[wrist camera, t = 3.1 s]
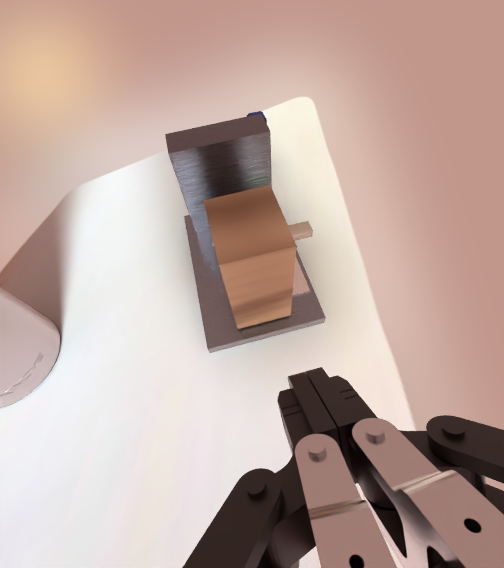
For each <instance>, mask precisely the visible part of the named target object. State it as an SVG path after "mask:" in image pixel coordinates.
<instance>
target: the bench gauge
mask: <svg viewBox="0 0 504 568" xmlns="http://www.w3.org/2000/svg"><path fill="white" fill-rule="evenodd" d="M165 135H166V142H167V148H168V154H169V157H170V159H171V162H172V165H173V168H174V171H175V174H176V177H177V179H178V182H179V185H180V188H181V191H182V194H183V196H184V199H185V202H186V205H187V208H188V211H189V214H190V215H188V216H184V217H185V223H186V229H187V234H188V240H189V246H190V251H191V257H192V263H193V268H194V274H195V280H196V285H197V291H198V297H199V302H200V308H201V314H202V319H203V325H204V331H205V336H206V342H207V348H208V350H209V352H210V353H212V352H215V351H219V350H223V349H227V348H230V347H234V346H238V345H241V344H245V343H249V342H253V341H256V340H260V339H264V338H268V337H271V336H275V335H279V334H283V333H286V332H290V331H294V330H298V329H301V328H305V327H309V326H312V325H316V324H320V323H324V321H325V315H324V313H323V311H322V308H321V306H320V304H319V301H318V299H317V297H316V294H315V292H314V290H313V287H312V285H311V283H310V280H309V278H308V276H307V273H306V271H305V269H304V266H303V264H302V262H301V259H300V257H299V255H298V252H297V250H296V257H295V269H294V281H293V294H292V306H291V315H290V316H286V317H282V318H278V319H274V320H271V321H267V322H263V323H259V324H256V325H252V326H248V327H244V328H240V329H237V325H236V322H235V318H234V315H233V312H232V308H231V305H230V301H229V298H228V295H227V291H226V288H225V285H224V281H223V278H222V274H221V271H220V268H219V264H218V260H217V256H216V251H215V247H214V243H213V239H212V234H211V230H210V226H209V222H208V217H207V213H206V209H205V205H204V200H207V199H212V198H216V197H220V196H225V195H229V194H233V193H238V192H242V191H246V190H250V189H255V188H259V187H263V186H268V185H270V186H271V145H270V130H269V128H268V126H267V124H266V122H265V120H264V118H263V116H262V114H257V115H253V116H248V117H243V118H239V119H234V120H230V121H225V122H220V123H216V124H211V125H207V126H202V127H197V128H192V129H188V130H183V131H178V132H174V133H170V134H165ZM271 188H272V186H271Z"/></svg>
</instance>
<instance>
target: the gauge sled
mask: <svg viewBox="0 0 504 568" xmlns="http://www.w3.org/2000/svg"><path fill="white" fill-rule="evenodd" d="M204 205H205V209H206V213H207V217H208V222H209V226H210V230H211V234H212V239H213V243H214V247H215V251H216V256H217V260H218V264H219V268H220V271H221V274H222V278H223V281H224V285H225V288H226V291H227V295H228V298H229V301H230V305H231V308H232V312H233V315H234V318H235V322H236V325H237V329H240V328H244V327H248V326H252V325H256V324H259V323H263V322H267V321H271V320H274V319H278V318H282V317H286V316H290V315H291V306H292V294H293V281H294V269H295V257H296V244H295V242H294V240H298V239H302V238H306V237H310V236H312V232H313V230H312V228H311V226H310V224H309V222H308V221H306V222H302V223H298V224H294V225H290V226H288V225H287V223H286V221H285V218H284V216H283V214H282V211H281V209H280V207H279V204H278V202H277V200H276V197H275V195H274V193H273V190H272V188H271V186H270V185H268V186H263V187H259V188H255V189H250V190H246V191H242V192H238V193H233V194H229V195H225V196H220V197H216V198H212V199H207V200H204Z"/></svg>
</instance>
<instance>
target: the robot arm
mask: <svg viewBox="0 0 504 568" xmlns="http://www.w3.org/2000/svg"><path fill="white" fill-rule="evenodd" d="M59 347H60V334H59V331H58V329H57V327H56V325H55V324H54V323H53V321H51V320H50V319H48V318H47V317H45V316H44V315H42V314H41V313H39V312H38V311H36V310H34V309H33V308H31V307H30V306H28V305H27V304H25V303H24V302H22V301H21V300H19V299H18V298H16V297H15V296H13V295H12V294H10V293H9V292H7V291H5V290H4V289H2V288H1V287H0V408H2V407H6V406H9V405H11V404H13V403H15V402H17V401H19V400H21V399H22V398H24V397H25V396H27V395H28V394H29V393H31V392H32V391H33V390H34V389H35V388H36V387H37V386H38V385H39V384H40V383H41V382H42V381H43V380H44V379H45V377H46V376H47V375H48V374H49V372H50V370H51V369H52V367H53V365H54V363H55V361H56V358H57V356H58V353H59ZM288 381H289V386H290V389H287V390H284V391H280V393H279V396H278V405H279V409H280V413H281V417H282V421H283V425H284V429H285V433H286V436H287V439H288V442H289V445H290V448H291V451H292V458H291V460H290V461H289V463H288V464H287V465H286V466H285V467H284V468H282V469H281V470H280V471H278V472H277V473H274V472H272V471H270V470H268V469H262V468H260V469H254V470H251V471H249V472H247V473H246V474H244V475H243V476H242V477H241V478H240V479H239V481H238V482H237V483H236V485H235V487H234V488H233V490H232V491H231V493H230V494H229V496H228V497H227V499H226V501H225V502H224V504H223V505H222V507H221V508H220V510H219V512H218V513H217V515H216V516H215V518H214V519H213V521H212V522H211V524H210V526H209V527H208V529H207V530H206V532H205V533H204V535H203V537H202V538H201V540H200V541H199V543H198V544H197V546H196V547H195V549H194V551H193V552H192V554H191V555H190V557H189V558H188V560H187V561H186V563H185V565H184V566H183V568H299V559H300V558H302V557H303V556H304V555H305V554H307V553H308V552H309V551H310V550H311V549H313V548H314V547H315V546H316V547H317V551H318V555H319V559H320V564H321V568H397V567H396V564H395V562H394V560H393V558H392V556H391V553H390V551H389V549H388V547H387V544H386V542H385V540H384V538H383V535H384V537H385V538H386V540H387V542H388V543H389V545H390V547H391V548H392V550H393V551H394V553H395V555H396V556H397V558H398V560H399V561H400V563H401V565H402V566H403V568H504V491H502V490H500V489H498V488H495V487H493V486H490V485H487V484H485V476H486V477H488V478H491V479H493V480H496V481H499V482H502V483H504V430H502V429H498V428H495V427H491V426H488V425H484V424H480V423H477V422H473V421H470V420H466V419H463V418H459V417H454V416H446V415H445V416H437V417H434V418H432V419H431V420H430V421H429V422H428V423H427V426H426V429H427V431H400V430H398V429H397V428H396V427H395V426H394V425H392V424H391V423H389V422H388V421H386V420H383V419H379V418H377V417H376V415H375V414H374V413H373V412H372V410H371V409H370V408H369V407H368V406H367V404H366V403H365V402H364V401H363V399H362V398H361V397H360V396H359V395H358V393H357V392H356V391H355V390H354V389H353V387H352V386H351V385H350V384H349V382H348V381H347V380H345V379H343V378H341V377H339V376H334V377H330V378H329V377H328V375H327V374H326V372H325V371H324V370H323V368H322V367H320V368H317V369H313V370H310V371H306V372H303V373H299V374H295V375H292V376H288ZM356 483H359V485H360V487H361V489H362V491H363V496H364V500H362V499H361V497H360V495H359V492H358V490H357V488H356V485H355V484H356ZM380 530H381V531H380ZM381 532H382V533H383V535H382V533H381Z"/></svg>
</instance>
